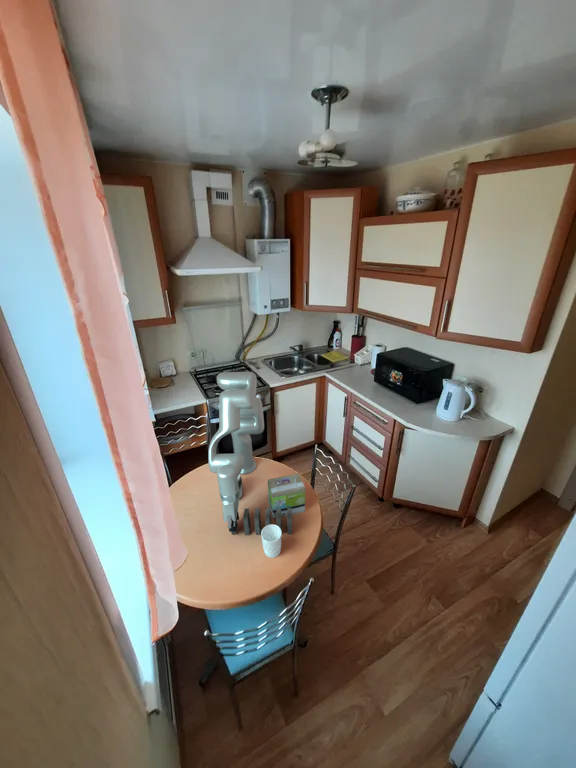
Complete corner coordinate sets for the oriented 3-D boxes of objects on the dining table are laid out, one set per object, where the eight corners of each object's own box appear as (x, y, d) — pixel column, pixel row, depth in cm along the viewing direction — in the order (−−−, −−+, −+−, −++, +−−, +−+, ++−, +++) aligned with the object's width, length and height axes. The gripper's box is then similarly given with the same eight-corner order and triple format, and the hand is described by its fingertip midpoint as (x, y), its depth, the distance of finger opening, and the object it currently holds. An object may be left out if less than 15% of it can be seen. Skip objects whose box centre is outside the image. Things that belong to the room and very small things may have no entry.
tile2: (256, 524, 136) (254, 508, 131) (261, 524, 136) (259, 508, 131) (255, 535, 131) (253, 518, 127) (260, 534, 131) (258, 518, 127)
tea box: (273, 519, 138) (271, 495, 131) (268, 502, 147) (266, 478, 140) (305, 511, 141) (305, 487, 135) (299, 495, 150) (298, 471, 144)
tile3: (266, 524, 136) (265, 508, 131) (271, 524, 136) (270, 508, 131) (265, 534, 131) (264, 518, 127) (270, 534, 131) (269, 518, 127)
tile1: (245, 525, 136) (243, 508, 131) (250, 525, 136) (248, 508, 131) (244, 535, 131) (242, 518, 127) (249, 535, 131) (247, 518, 127)
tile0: (233, 524, 136) (230, 507, 131) (237, 524, 136) (235, 507, 131) (231, 534, 131) (228, 517, 127) (236, 534, 131) (233, 517, 127)
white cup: (271, 537, 130) (270, 521, 125) (286, 548, 125) (285, 531, 121) (258, 551, 124) (256, 534, 120) (273, 563, 120) (272, 546, 115)
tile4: (276, 524, 136) (275, 508, 131) (281, 524, 136) (280, 508, 131) (276, 534, 131) (275, 517, 127) (281, 534, 131) (280, 517, 127)
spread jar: (241, 502, 147) (239, 484, 142) (217, 502, 147) (214, 484, 142) (245, 484, 158) (243, 466, 153) (222, 484, 158) (220, 466, 153)
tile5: (287, 524, 135) (286, 507, 131) (292, 524, 135) (291, 507, 131) (287, 534, 131) (286, 517, 127) (292, 534, 131) (291, 517, 127)
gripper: (224, 478, 132) (229, 509, 140) (215, 510, 117) (221, 543, 125) (242, 477, 132) (245, 508, 140) (235, 510, 117) (240, 543, 125)
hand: (234, 524), depth 132 cm, fingers open, 5 cm apart
